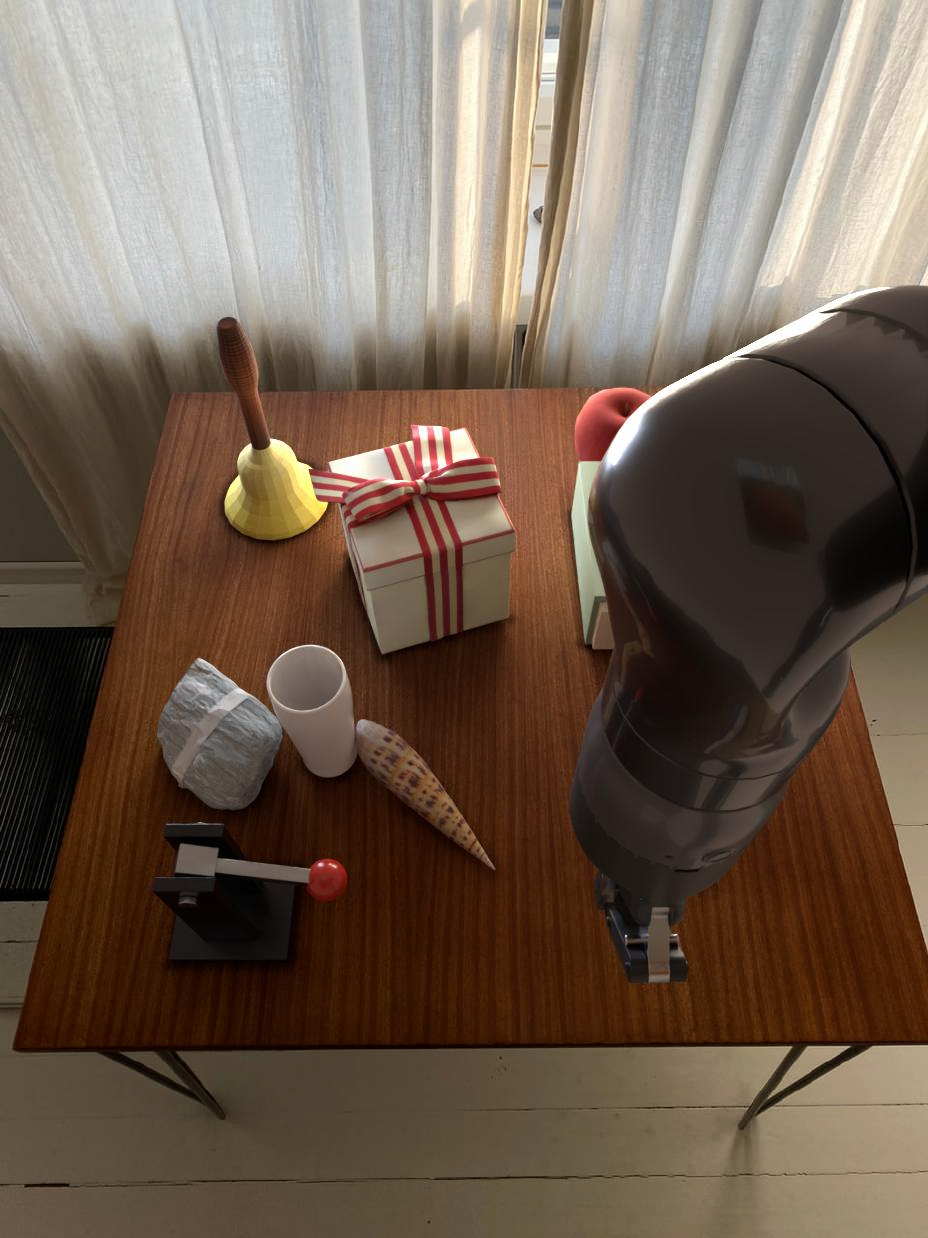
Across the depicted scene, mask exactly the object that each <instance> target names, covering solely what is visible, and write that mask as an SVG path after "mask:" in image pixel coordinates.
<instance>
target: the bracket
mask: <svg viewBox="0 0 928 1238" xmlns="http://www.w3.org/2000/svg"><path fill="white" fill-rule="evenodd" d="M162 837H163V839H164V840H165V841H166V842H167V843H168V844H169V845H170V846H171V848H172V849H173V850H174V851H175V852H176V853H177V851H178V848H179V846H180V844H181V843H184V844H192V845H200V846H208V847H216V848H219V850H218V857H217V858H222V859H230V860H239V861H247V862H250V861H249V859H248V858H247V856H246V855H245V853H244V852H243V850H242V849H241V847H240V846H239V844H238V843H237V841H236V840H235V838H234V837H233V836H232V834H231V832H230V831H229V830H228V828H227V827H226V825H225V824H224V823H207V822H194V823H165V825H164V829H163V834H162ZM288 866H289V867H297V868H299V867H298V866H297V865H288ZM151 892H152V893H153V894H154V895H155V896H156V897H157V898H158V899H159V900H161V901H162V903H163V904H164V905H165V906H167V907H168V908H169V909H170V910H171V911H172V912H173V913H174V914H175V920H174V926H173V932H172V938H171V944H170V948H169V953H168V961H170V962H171V963H173V964H188V963H190V964H230V963H231V964H289V963H290V958H291V951H292V950H291V949H292V942H293V941H292V939H293V930H294V922H295V921H294V920H295V913H296V902H297V895H298V894H297V893H298V886H297V885H288V884H279V883H271V882H262V881H253V880H244V879H235V878H227V877H218V876H214V878H172V877H154V879H153V883H152V888H151Z"/></svg>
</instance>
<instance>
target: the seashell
mask: <svg viewBox="0 0 928 1238" xmlns="http://www.w3.org/2000/svg"><path fill="white" fill-rule="evenodd" d="M355 738H356V746H357V755H358V756H359V758H360V760H361V761H362V763H363V765H364V766H365V767H366V769H367V770H368V771H369V773H370V774H371V775H372V776H373V777H374V778H375V779H376V780H377V781H378V782H379V783H380V784H382V786H384V787H385V788H387V789H388V790H389V791H391V792H392V794H394V795H395V796H396V797H397V798H398V799H399V800H400V801H402V802H403V803H404V804H406V805H407V806H408V807H409V808H411V809H413V811H415V813H417V814H418V815H419V816H421V818H423V819H424V820H426V821H427V822H428V823H430V824H431V825H432V826H433V827H434V828H435V829H436V830H438V831H439V832H440V833H441V834H443V835H445V837H447V838H448V839H449V840H451V841H452V842H453V843H456V844H457V846H460V847H461V848H462V849H464V850H465V851H467V852H468V853H469V854H471V855H473V856H474V857H475V858H476V859H478V860H479V861H481V862H482V863H483V864H484V865H485V866H488V867H489V868H491V869H492V870H494V871H496V868H495V866H494V864H493V863H492V862H491V860H490V858H489V857H488V855H487V853H486V851H485V850H484V849H483V847H482V846H481V844H480V842H479V840H478V838H477V837H476V835H475V834H474V832H473V830H472V828H471V827H470V825H469V824H468V823H467V821H466V819H465V818H464V816H463V814H461V812H460V811H459V809H458V807H457V806H456V803H455V802H454V800H453V799H452V798H451V797H450V795H449V794H448V793H447V792H446V790H445V788H444V787H443V785H442V784H441V783H440V781H439V780H438V778H437V777H436V776H435V774H434V773H433V772H432V771H431V768H430V767H429V765H428V764H427V762H426V761H425V760H424V759H423V757H421V756H420V755H419V754H418V752H417V751H416V750H414V748H412V747H411V746H410V745H409V744H408V743H407V742H406V740H405V739H403V738H402V736H400V735H399V734H397V733H396V732H395V731H394V730H391V729H389V728H385V726H384V725H383V724H379V723H377V722H375V721H373V720H367V719H364V718H363V719H360V720H358V721H357V724H356V726H355Z"/></svg>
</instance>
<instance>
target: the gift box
mask: <svg viewBox="0 0 928 1238" xmlns="http://www.w3.org/2000/svg"><path fill="white" fill-rule="evenodd" d="M410 428H411V430H412V440H409V441H405V442H402V443H398V444H394V445H389V446H386V447H383V448H379V449H374V450H371V451H368V452H367V451H366V452H363V453H360V454H355V455H352V456H347V457H343V458H339V459H336V460H332V461H328V462H326V467H327V471H325V470H319V469H315V468H312V469H308V471H309V475H310V478H311V482H312V485H313V490H314V494H315V496H316V499H317V500H318V501H320V502H328V504H330V503H331V504H337V506H338V508H339V513H340V518H341V522H342V527H343V532H344V537H345V542H346V547H347V551H348V556H349V559H350V560H349V561H350V563H351V566H352V569H353V572H354V576H355V578H356V583H357V587H358V591H359V594H360V598H361V602H362V604H363V606H364V610H365V613H366V614H367V617H368V619H369V622H370V625H371V628H372V631H373V634H374V637H375V640H376V643H377V645H378V648H379V650H380V653H381V655H386V654H390V653H393V652H396V651H400V650H403V649H407V648H410V647H413V646H416V645H420V644H424V643H427V642H433V643H434V642H435V641H438V640H440V639H442V638H444V637H448V636H451V635H456V634H459V633H463V632H464V631H468V630H471V629H476V628H479V627H482V626H487V625H489V624H493V623H496V622H500V621H502V620H506V619H508V618H509V616H510V591H511V590H510V589H511V562H512V561H511V560H512V559H511V557H512V553H513V552H516V551H515V550H516V539H517V537H516V534H517V533H516V529H515V527H514V524H513V523H512V520H511V519H510V517H509V514H508V512H507V510H506V508H505V506H504V504H503V502H502V500H501V498H500V496H499V494H502V493H503V491H502V487H501V482H500V478H499V474H498V470H497V466H496V463H495V459H494V458H493V457H491V456H490V457H489V456H483V457H481V456H480V454H479V452H478V450H477V448H476V446H475V444H474V442H473V439H472V438H471V435H470V434H469V431H468V429H467V427H462V428H457V429H453V430H449V427H445V426H439V425H438V426H437V425H436V426H435V425H417V424H410Z"/></svg>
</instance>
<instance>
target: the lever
mask: <svg viewBox="0 0 928 1238" xmlns="http://www.w3.org/2000/svg"><path fill="white" fill-rule="evenodd" d="M218 850H219V848H216V847H208V846H200V845H192V844H184V843H181V844H180V846H179V848H178V851H177V852H176V854H175V860H174V864H173V871H172V876H171V878H214V876H218V877H227V878H235V879H244V880H253V881H262V882H271V883H279V884H288V885H297V887H306V890H307V891H308V894H309V895H310V896H311V897H312V898H314V899H315V900H317V901H320V902H332V901H334V900H336V899H338V898H340V896H341V895H343V893H344V892H345V890H346V888H347V884H348V874H347V870H346V868H345V867H344V866H343V864H341V863H340V862H339V861H338V860H337V859H332V858H322V859H320V860H317V861H315V862H314V863H313V864H312V865H311V866H310V867H309V868H304V867H298V866H297V867H298V868H297V867H289V866H290V865H280V864H272V863H263V862H254V861H249V862H247V861H239V860H230V859H222V858H217V857H218Z"/></svg>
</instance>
